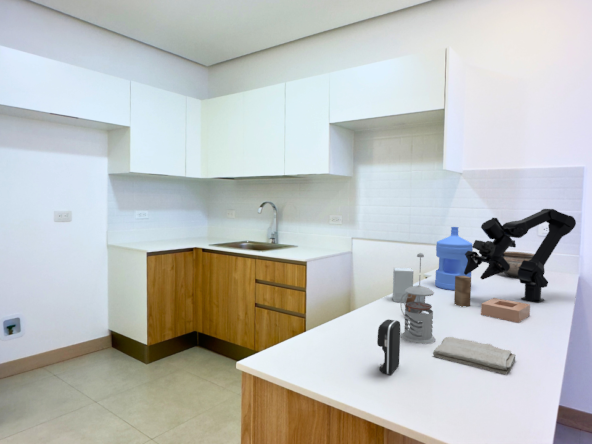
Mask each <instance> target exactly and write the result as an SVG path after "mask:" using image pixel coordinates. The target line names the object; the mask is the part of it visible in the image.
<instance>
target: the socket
mask: <svg viewBox="0 0 592 444" xmlns="http://www.w3.org/2000/svg"><path fill="white" fill-rule="evenodd" d="M480 308H481V309H480V312H481V313H480V315H481V316H484V315H486V317H489V316H490V318H493V319H498V318H499V319H500V320H503V321H507V322H513V323H518V324H519V323H521V322H522V321H524V320H525V319H526V318H528V317H530V315H531V304H529V303H524V302H518V301H513V300H507V299H502V298H498V297H493V298H491V299H489V300H487V301H484V302H482V303H481V306H480Z"/></svg>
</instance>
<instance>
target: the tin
mask: <svg viewBox="0 0 592 444" xmlns="http://www.w3.org/2000/svg"><path fill="white" fill-rule="evenodd" d="M408 297H411V294H409V295H408ZM408 297H407V300H406V303H405V305H406V304H407V303H408V302H419V296H416V295H412V297H411V298H408ZM420 302H421V303H423V302H424V303H426V296H420ZM407 307H408V306H407V305H406V308H407ZM408 312H410V308H408ZM420 313H423V311H420V312H418V314H420Z"/></svg>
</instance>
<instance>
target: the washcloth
mask: <svg viewBox="0 0 592 444" xmlns="http://www.w3.org/2000/svg"><path fill="white" fill-rule="evenodd" d="M432 354H433V357H435V358H438V359H441V360H442V359H443V360H446V361H449V362H450V361H451V362H454V363H458V364H462V365H467V366H470V367H474V368H478V369H481V370H482V369H483V370H485V371H486V370H487V371H490V372H495V373H498V374H502V375H506V376H507V375H508V373H510V372H511V370H512V367H513V365H514V362H515V360H516V354H515V353H513V352H512V351H511V350H510V349H503V348H500V347H497V346H494V345H493V344H491V343H482V342H478V341H474V340H470V339H464V338H458V337H454V336H447V337H444V338H443V339H442V341H441V342H440V344H439V345H438V346H437V347H435V348H434V350H433V352H432Z"/></svg>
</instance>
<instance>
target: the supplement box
mask: <svg viewBox="0 0 592 444" xmlns="http://www.w3.org/2000/svg"><path fill="white" fill-rule="evenodd" d="M392 275H393V278H392V279H393V280H392V281H393V282H392V300H393V303H394V302H395V303H404V304H406V303H405V298H406V300H407V297H406V296H407V294H408V293H407V292H406V291H405V290H406V289H407V288H409V287H412V286H414V270H413V269H412V268H410V267H407V268H406V267H393V274H392ZM406 293H407V294H406ZM404 294H405V295H404ZM403 295H404V296H403ZM402 296H403V298H402ZM401 298H402V300H401Z"/></svg>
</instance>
